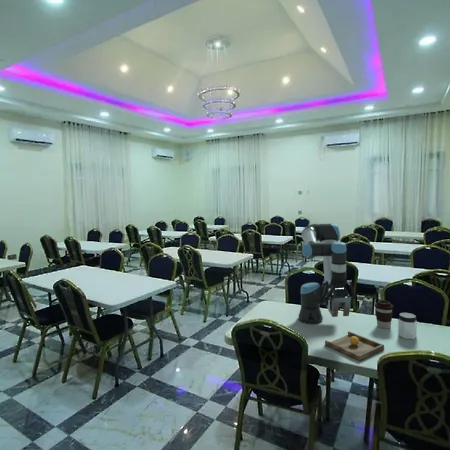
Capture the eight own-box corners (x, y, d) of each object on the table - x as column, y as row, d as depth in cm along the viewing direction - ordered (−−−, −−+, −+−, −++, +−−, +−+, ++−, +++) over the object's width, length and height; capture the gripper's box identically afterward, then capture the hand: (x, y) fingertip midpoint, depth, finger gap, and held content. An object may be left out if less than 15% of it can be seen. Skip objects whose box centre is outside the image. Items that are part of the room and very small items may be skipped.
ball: (356, 348, 166) (347, 343, 169) (358, 345, 170) (349, 340, 173) (359, 340, 166) (350, 336, 168) (361, 337, 169) (352, 333, 172)
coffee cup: (392, 331, 185) (392, 305, 184) (373, 328, 191) (373, 303, 189) (393, 325, 194) (394, 300, 192) (375, 322, 199) (375, 298, 198)
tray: (324, 345, 172) (324, 340, 171) (349, 335, 182) (349, 331, 182) (359, 361, 154) (359, 356, 154) (384, 349, 164) (384, 344, 164)
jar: (399, 338, 176) (400, 317, 175) (396, 332, 184) (396, 312, 182) (418, 340, 173) (418, 318, 172) (414, 333, 181) (414, 313, 180)
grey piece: (332, 316, 173) (334, 298, 169) (326, 306, 181) (328, 288, 177) (348, 316, 173) (351, 297, 169) (342, 306, 182) (344, 287, 177)
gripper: (317, 272, 171) (318, 312, 174) (362, 273, 167) (362, 314, 169) (316, 269, 178) (317, 307, 181) (359, 269, 174) (359, 308, 177)
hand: (338, 310), depth 175 cm, fingers closed on grey piece, 10 cm apart
